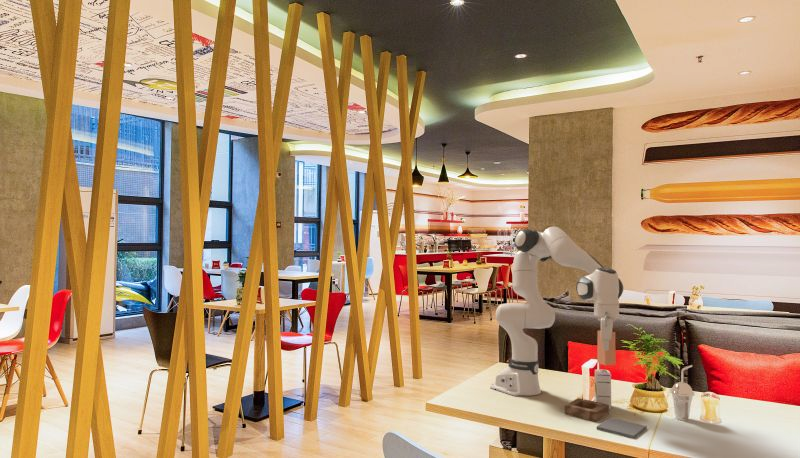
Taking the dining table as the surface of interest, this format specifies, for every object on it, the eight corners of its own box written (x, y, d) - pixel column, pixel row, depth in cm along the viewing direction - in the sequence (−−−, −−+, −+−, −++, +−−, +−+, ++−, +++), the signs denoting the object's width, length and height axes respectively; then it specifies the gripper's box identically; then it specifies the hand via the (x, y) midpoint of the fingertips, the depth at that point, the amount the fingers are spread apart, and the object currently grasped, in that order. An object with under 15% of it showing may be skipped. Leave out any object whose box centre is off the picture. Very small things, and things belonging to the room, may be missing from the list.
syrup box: (611, 409, 220) (611, 373, 220) (596, 408, 221) (596, 372, 221) (609, 405, 226) (609, 369, 226) (594, 404, 227) (594, 368, 227)
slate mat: (596, 429, 198) (596, 426, 198) (610, 420, 208) (610, 417, 208) (633, 438, 189) (633, 435, 189) (646, 428, 199) (646, 425, 199)
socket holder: (564, 414, 214) (564, 405, 214) (578, 406, 223) (578, 398, 223) (595, 421, 206) (596, 412, 206) (609, 413, 215) (609, 404, 215)
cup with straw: (665, 414, 214) (665, 363, 214) (689, 415, 214) (689, 363, 214) (675, 422, 206) (676, 368, 206) (700, 422, 205) (700, 369, 205)
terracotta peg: (597, 362, 207) (597, 330, 208) (607, 362, 209) (607, 330, 209) (605, 365, 203) (605, 332, 204) (615, 364, 204) (615, 332, 205)
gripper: (615, 314, 196) (615, 354, 195) (615, 309, 215) (615, 344, 214) (596, 313, 198) (596, 352, 198) (598, 308, 217) (598, 343, 217)
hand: (606, 348), depth 206 cm, fingers closed on terracotta peg, 6 cm apart
